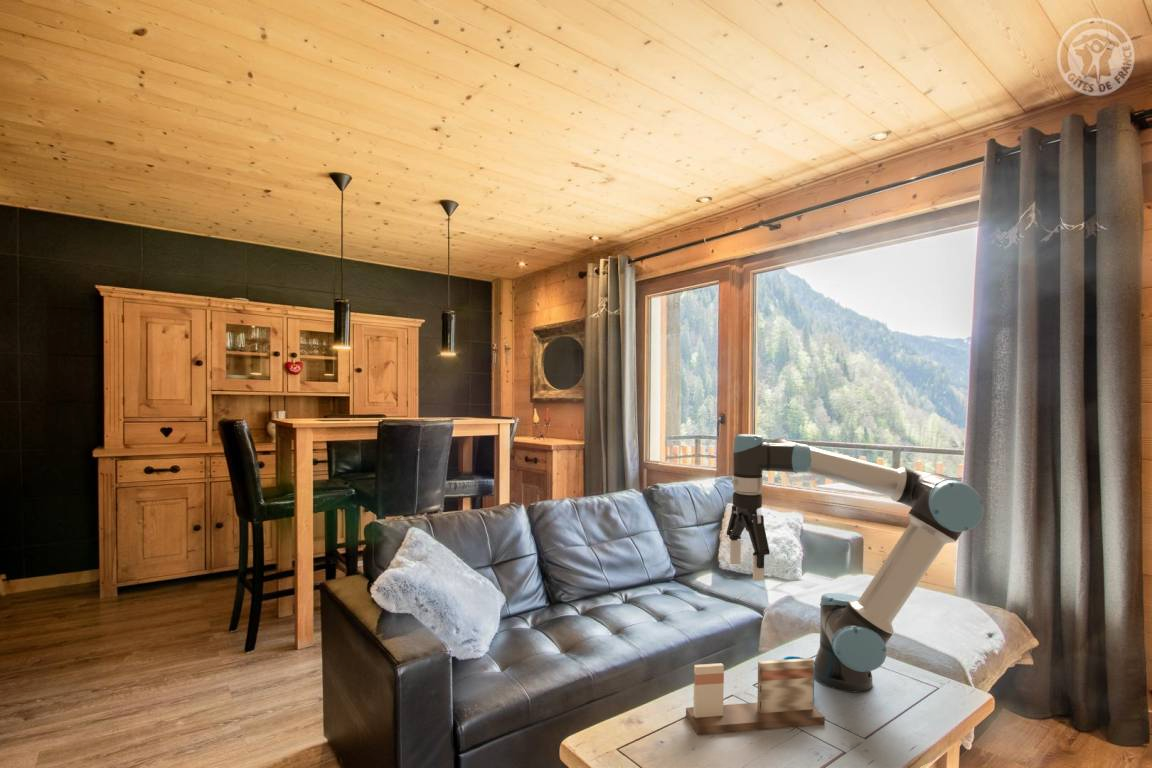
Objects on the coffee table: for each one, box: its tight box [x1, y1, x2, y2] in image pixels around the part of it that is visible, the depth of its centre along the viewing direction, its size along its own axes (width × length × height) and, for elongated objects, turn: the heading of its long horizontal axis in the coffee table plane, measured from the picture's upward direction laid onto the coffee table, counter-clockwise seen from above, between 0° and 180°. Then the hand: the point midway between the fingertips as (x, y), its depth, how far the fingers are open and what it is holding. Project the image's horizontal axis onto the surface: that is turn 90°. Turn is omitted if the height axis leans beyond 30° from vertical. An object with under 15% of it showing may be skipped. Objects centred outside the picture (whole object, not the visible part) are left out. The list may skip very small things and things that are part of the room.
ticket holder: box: [685, 657, 826, 736], centre depth 140 cm, size 32×8×14 cm, turn 99°
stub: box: [693, 662, 725, 718], centre depth 138 cm, size 7×1×12 cm, turn 99°
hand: (746, 571), depth 154 cm, fingers open, 13 cm apart
